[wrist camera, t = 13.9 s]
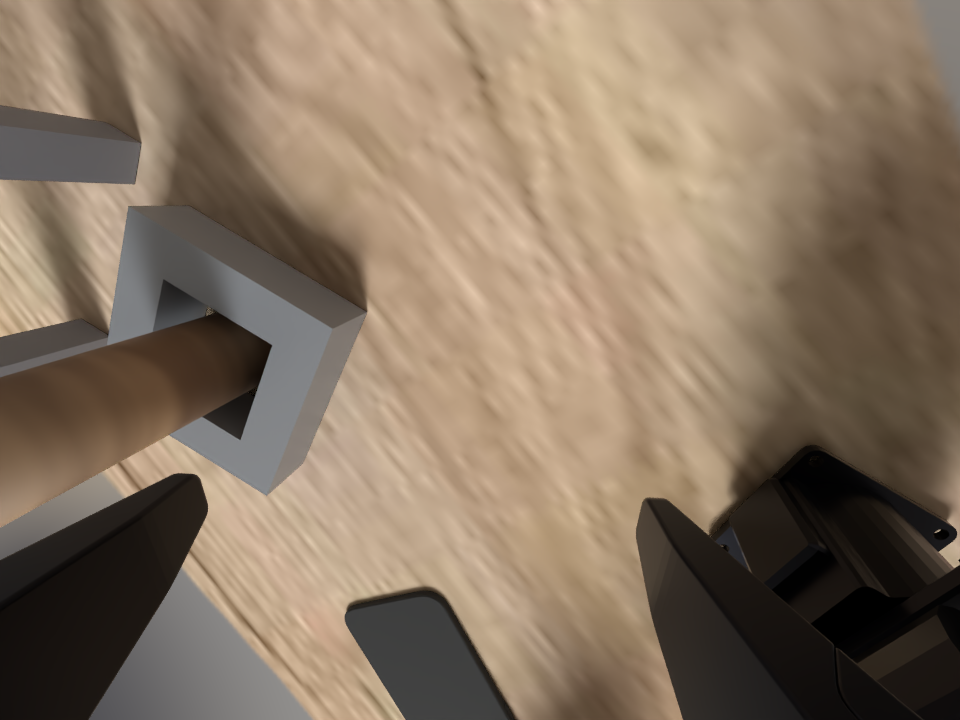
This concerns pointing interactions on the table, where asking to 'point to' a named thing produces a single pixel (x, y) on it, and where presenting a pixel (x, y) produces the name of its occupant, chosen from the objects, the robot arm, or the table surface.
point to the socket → (256, 307)
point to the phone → (425, 658)
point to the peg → (115, 404)
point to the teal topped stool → (65, 158)
